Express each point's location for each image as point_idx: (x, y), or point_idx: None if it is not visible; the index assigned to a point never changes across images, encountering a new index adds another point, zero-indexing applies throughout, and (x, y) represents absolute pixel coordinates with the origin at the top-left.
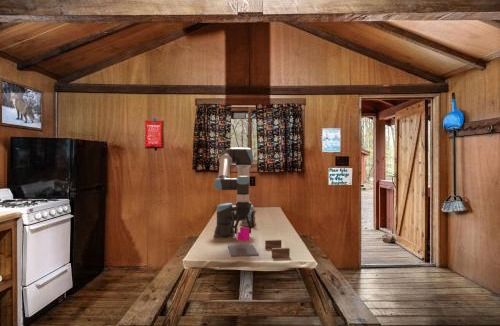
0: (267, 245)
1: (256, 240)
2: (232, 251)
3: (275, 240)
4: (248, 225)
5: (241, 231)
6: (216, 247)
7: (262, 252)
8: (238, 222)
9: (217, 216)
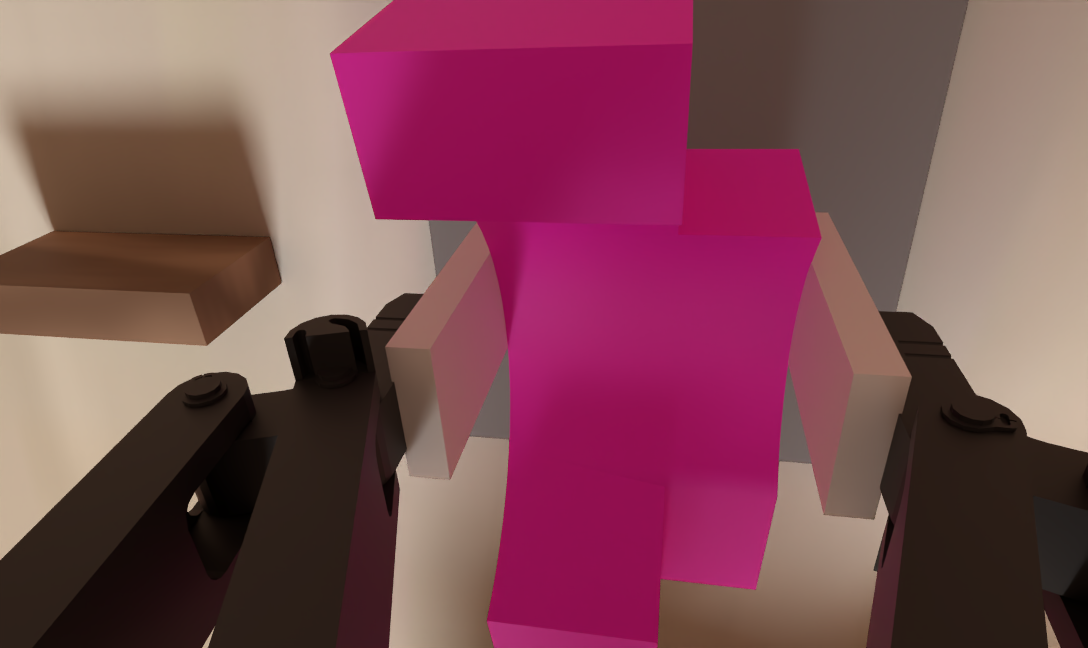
0: (214, 256)
1: (404, 608)
2: (899, 68)
3: (32, 290)
4: (376, 459)
5: (642, 519)
6: (1080, 442)
7: (314, 27)
8: (904, 611)
9: None
